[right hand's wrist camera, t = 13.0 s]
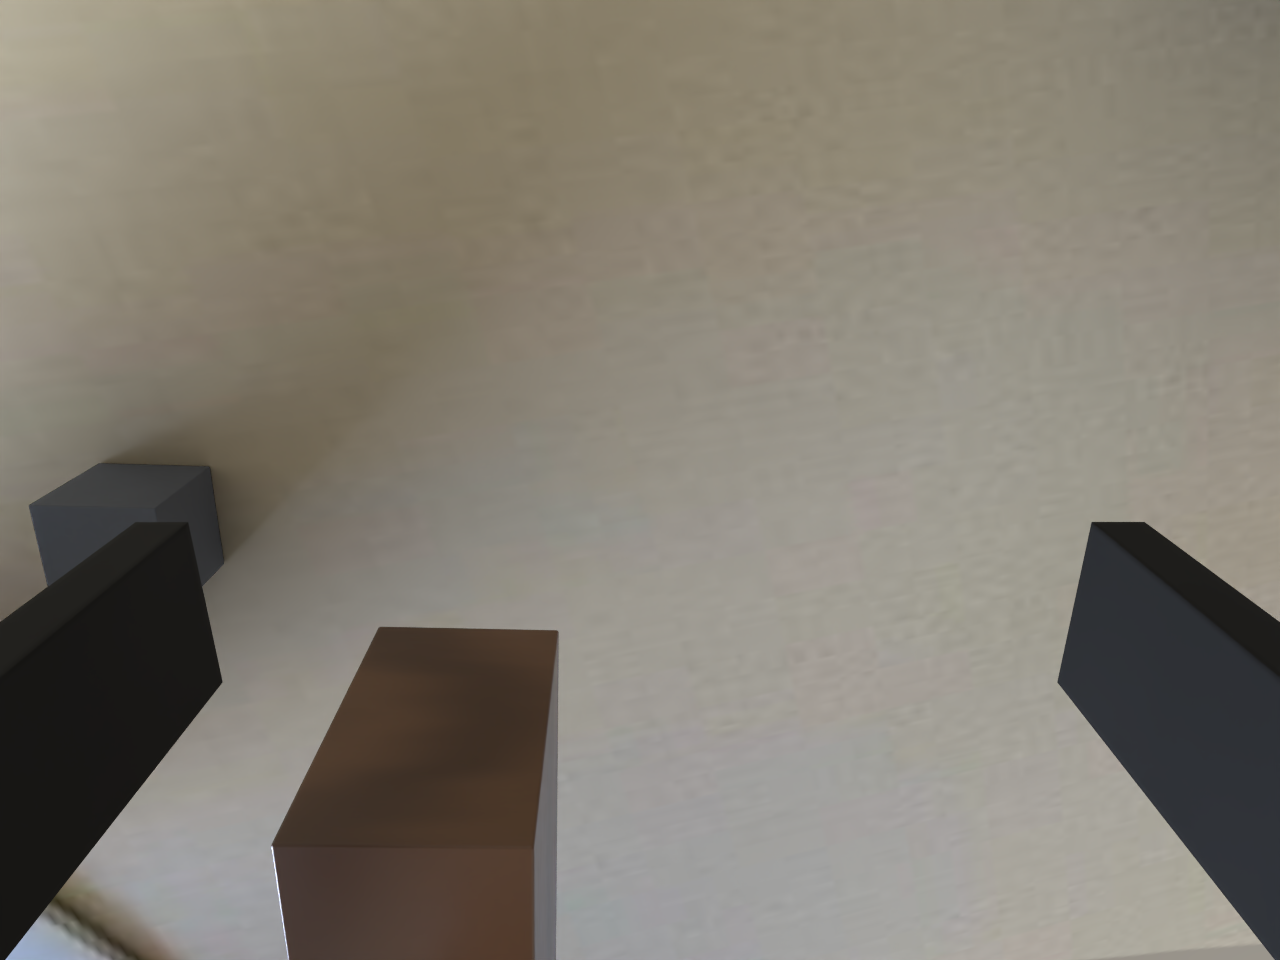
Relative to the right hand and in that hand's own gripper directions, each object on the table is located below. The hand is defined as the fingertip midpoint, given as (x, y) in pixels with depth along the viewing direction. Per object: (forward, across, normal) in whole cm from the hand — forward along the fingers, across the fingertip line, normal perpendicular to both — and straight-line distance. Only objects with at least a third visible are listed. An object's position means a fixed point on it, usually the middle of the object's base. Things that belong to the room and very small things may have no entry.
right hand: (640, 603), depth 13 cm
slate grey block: (+25, +22, +10) cm, 35 cm away
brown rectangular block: (+9, +5, +18) cm, 21 cm away
